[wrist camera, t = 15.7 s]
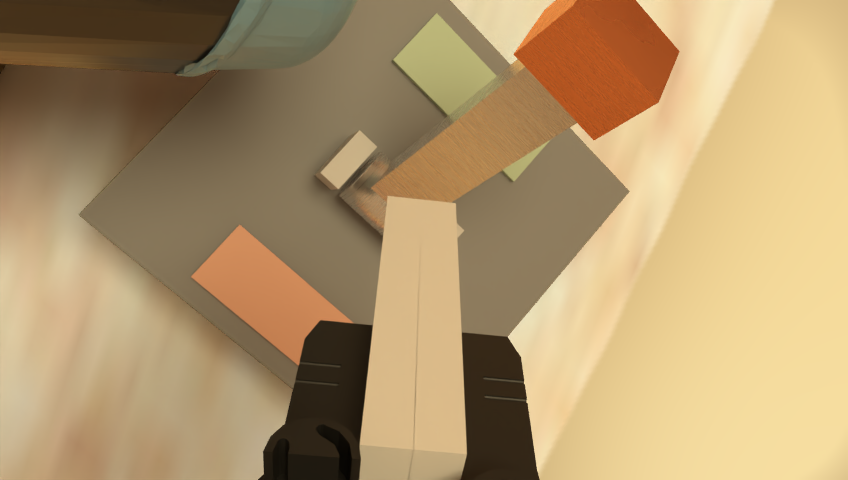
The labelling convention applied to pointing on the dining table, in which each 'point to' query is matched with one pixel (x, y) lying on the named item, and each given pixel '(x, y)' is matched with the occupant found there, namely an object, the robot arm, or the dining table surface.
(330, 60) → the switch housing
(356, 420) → the robot arm
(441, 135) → the lever
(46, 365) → the dining table surface
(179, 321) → the dining table surface
